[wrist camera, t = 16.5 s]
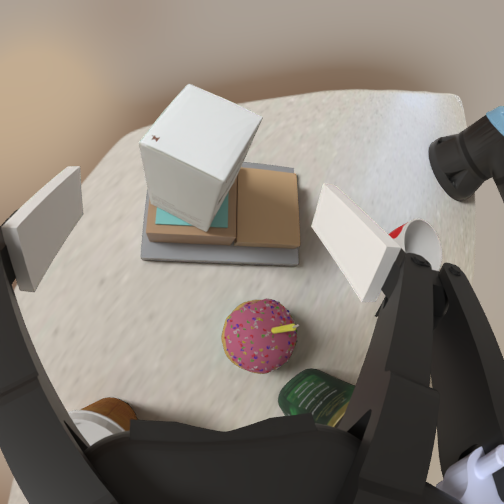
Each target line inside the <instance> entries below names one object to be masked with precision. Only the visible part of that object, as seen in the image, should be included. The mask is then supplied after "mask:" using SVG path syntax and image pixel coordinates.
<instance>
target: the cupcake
mask: <svg viewBox="0 0 504 504" xmlns="http://www.w3.org/2000/svg"><path fill="white" fill-rule="evenodd" d="M293 320H294V319H293V318H292V317H291V315H290V314H289V310H287V309H286V308H285V307H284V306H283V305H281V304H280V302H279V301H275V300H271V299H264V300H252V301H248V302H244V303H242V304H240V305H239V306H238V307H237V308H236V309H235V310H234V311H233V312H232V313H231V314H230V315H229V316H228V317H227V318H226V321H225V324H224V328H223V332H222V343H223V347H224V351H225V354H226V355H227V357H228V358H229V359H230V360H231V362H233V363H234V364H235V365H236V366H238V367H240V368H242V369H245V370H247V371H250V372H253V373H259V374H265V373H269V372H271V371H274V370H275V369H279V367H280V366H282V365H283V364H284V363H286V362H288V359H289V358H290V356H291V355H292V352H293V350H294V347H295V345H296V342H297V341H296V340H297V329H296V327H298V326H299V324H298V325H295V321H293Z"/></svg>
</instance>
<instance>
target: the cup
mask: <svg viewBox="0 0 504 504" xmlns="http://www.w3.org/2000/svg"><path fill="white" fill-rule="evenodd" d="M388 235H389V236H390V237H391V238H392V239H393V240H394V241H395V242H396V243H397V244H398V245H399V246H400V247H401V248H402V249H403V250H404V251H405V252H406V253H415V254H418V255H421V256H422V257H424V258H425V259H426V260H427V261H428V262H429V263H430V264H431V267H432V270H436V271H439V269H440V267H441V263H442V247H441V243H440V239H439V237H438V235H437V233H436V231H435V229H434V228H433V227H432V226H431V225H430V224H429V223H428V222H427V221H425V220H423V219H419V218H417V219H413V220H411V221H409V222H407V223H406V224H404V225H402V226H400V227H398V228H397V229H395V230H393V231H392V232H390V233H389V234H388Z"/></svg>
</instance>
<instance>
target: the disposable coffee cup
mask: <svg viewBox="0 0 504 504" xmlns="http://www.w3.org/2000/svg"><path fill="white" fill-rule="evenodd" d="M68 414H69V416H70V417H71V419H72V421H73V422H74V424H75V425H76V427H77V428H78V430H79V431H80V433H81V434H82V435H83V437H84V438H85V439H86V441H87V442H88V443H89V445H90V446H91V445H92V444H94V443H95V442H97V441H99V440H101V439H102V438H104V437H107V436H110V435H112V434H115V433H119V432H123V431H129V430H130V419H134V420H137V417H136V414H135V413H134V411H133V410H132V408H131V407H130V406H129V405H128V404H126V403H125V402H123V401H121V400H119V399H116V398H110V397H109V398H103V399H101V400H99V401H97V402H95V403H93V404H91V405H89V406H87V407H85V408H83V409H81V410H74V411H69V412H68Z"/></svg>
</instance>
